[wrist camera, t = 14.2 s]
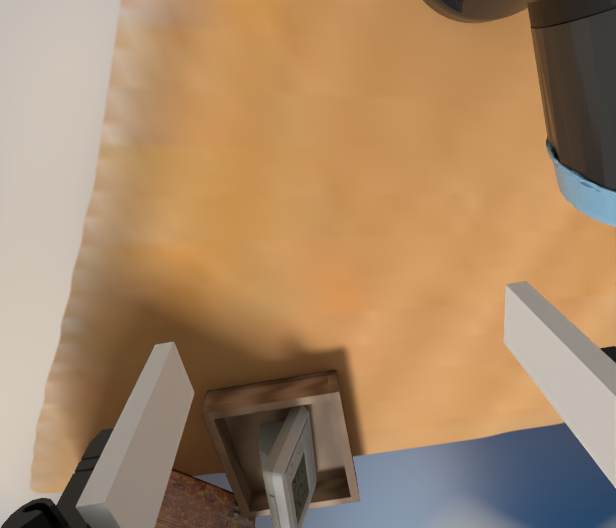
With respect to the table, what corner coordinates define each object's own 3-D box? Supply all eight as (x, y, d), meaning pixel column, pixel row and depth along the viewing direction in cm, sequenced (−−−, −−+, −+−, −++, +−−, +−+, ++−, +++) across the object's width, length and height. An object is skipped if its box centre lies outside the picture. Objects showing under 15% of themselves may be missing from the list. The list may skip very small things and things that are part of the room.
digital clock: (314, 481, 62) (318, 557, 52) (255, 478, 61) (248, 555, 51) (329, 401, 55) (337, 472, 45) (262, 397, 54) (256, 468, 44)
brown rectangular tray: (335, 369, 53) (339, 391, 50) (356, 476, 63) (360, 501, 59) (207, 391, 54) (201, 414, 51) (246, 492, 64) (243, 518, 60)
